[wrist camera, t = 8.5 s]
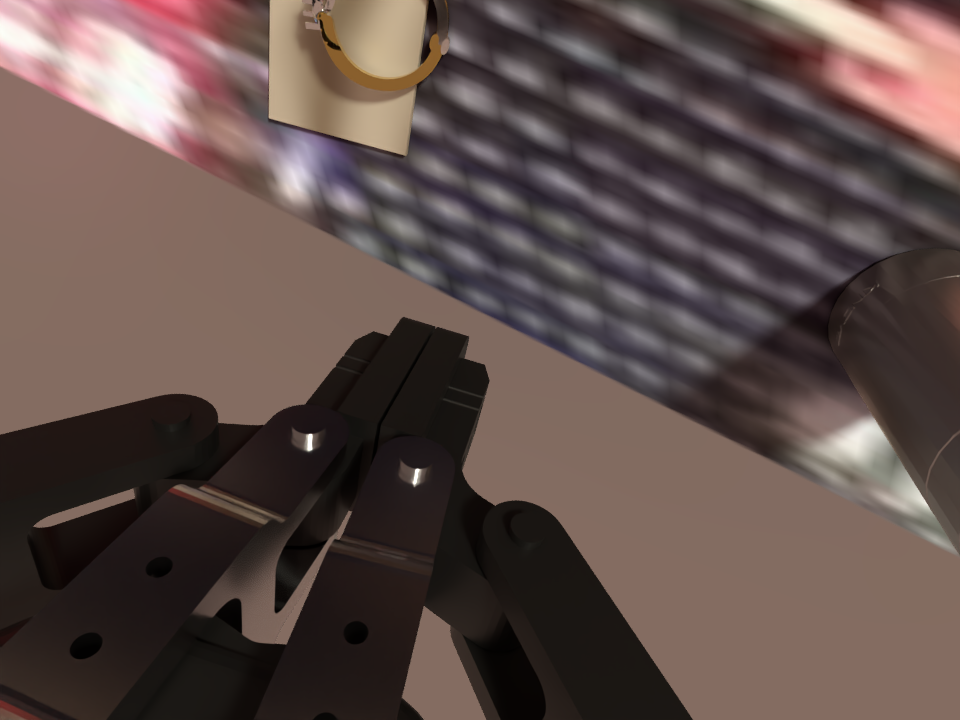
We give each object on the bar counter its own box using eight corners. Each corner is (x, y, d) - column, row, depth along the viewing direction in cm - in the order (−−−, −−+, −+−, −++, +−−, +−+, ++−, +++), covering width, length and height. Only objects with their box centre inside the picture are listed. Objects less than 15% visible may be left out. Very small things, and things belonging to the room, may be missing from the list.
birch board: (443, -103, 30) (441, -103, 29) (407, 154, 37) (405, 155, 37) (274, -146, 30) (271, -147, 30) (271, 116, 37) (268, 118, 37)
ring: (428, 115, 34) (286, 61, 32) (431, 101, 36) (301, 50, 34) (470, -20, 30) (311, -91, 28) (470, -26, 32) (325, -90, 30)
